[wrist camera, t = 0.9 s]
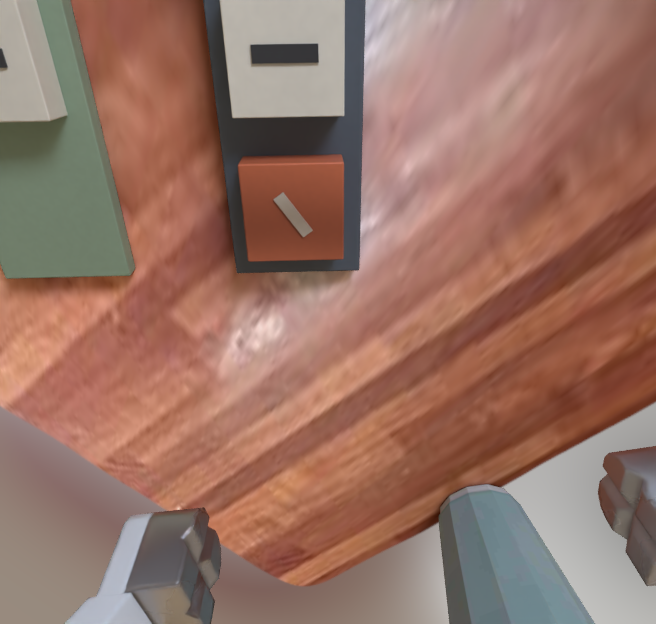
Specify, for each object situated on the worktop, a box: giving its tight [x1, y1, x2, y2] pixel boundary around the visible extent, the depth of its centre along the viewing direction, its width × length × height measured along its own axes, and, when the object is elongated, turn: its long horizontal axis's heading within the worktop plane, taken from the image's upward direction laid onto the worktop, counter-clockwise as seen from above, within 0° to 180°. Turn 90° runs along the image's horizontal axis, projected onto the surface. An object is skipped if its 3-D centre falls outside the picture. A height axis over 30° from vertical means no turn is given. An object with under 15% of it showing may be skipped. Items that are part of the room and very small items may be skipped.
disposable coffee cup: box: [439, 484, 595, 624], centre depth 33 cm, size 11×11×15 cm
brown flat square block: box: [238, 154, 344, 262], centre depth 24 cm, size 5×5×2 cm
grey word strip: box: [203, 0, 365, 273], centre depth 21 cm, size 22×7×3 cm, turn 1°
